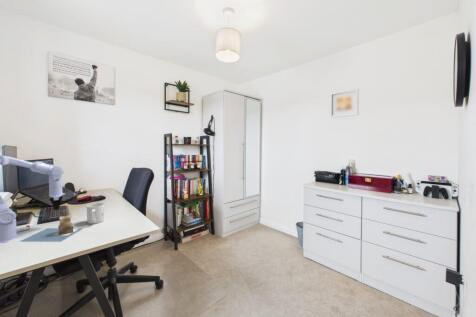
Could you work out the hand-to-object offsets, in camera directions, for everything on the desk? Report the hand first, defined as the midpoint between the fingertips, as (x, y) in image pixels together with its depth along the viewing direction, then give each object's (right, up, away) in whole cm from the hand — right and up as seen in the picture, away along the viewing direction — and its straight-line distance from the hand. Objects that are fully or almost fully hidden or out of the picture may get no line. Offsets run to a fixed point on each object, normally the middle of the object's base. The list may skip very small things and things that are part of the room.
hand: (56, 209), depth 120 cm
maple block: (+11, -7, -7) cm, 15 cm away
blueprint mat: (+7, -11, -10) cm, 17 cm away
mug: (+17, -11, +8) cm, 22 cm away
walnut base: (+11, -11, -7) cm, 17 cm away
